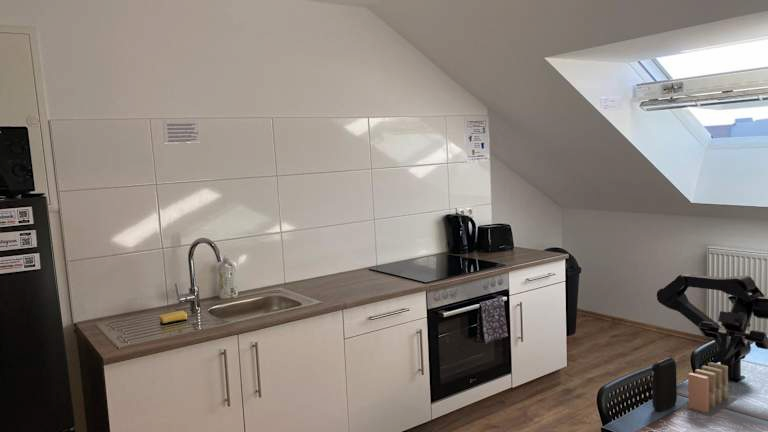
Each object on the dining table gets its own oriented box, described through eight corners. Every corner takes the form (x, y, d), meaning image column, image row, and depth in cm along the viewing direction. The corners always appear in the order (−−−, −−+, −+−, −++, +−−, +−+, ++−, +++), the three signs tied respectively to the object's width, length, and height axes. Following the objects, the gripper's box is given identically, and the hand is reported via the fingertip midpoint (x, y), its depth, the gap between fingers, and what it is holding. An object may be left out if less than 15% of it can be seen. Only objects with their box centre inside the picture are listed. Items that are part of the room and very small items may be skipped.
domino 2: (697, 401, 176) (697, 368, 175) (715, 406, 172) (715, 373, 171) (695, 403, 175) (694, 370, 174) (713, 408, 171) (712, 374, 170)
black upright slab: (657, 416, 169) (656, 366, 168) (647, 412, 172) (646, 363, 170) (679, 405, 175) (678, 357, 173) (669, 402, 177) (668, 354, 176)
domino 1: (691, 405, 174) (690, 372, 173) (709, 410, 170) (708, 376, 169) (688, 407, 173) (688, 374, 172) (706, 412, 169) (706, 378, 168)
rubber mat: (706, 391, 183) (706, 390, 183) (737, 400, 176) (737, 398, 176) (678, 408, 173) (678, 407, 173) (711, 418, 166) (711, 416, 166)
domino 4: (710, 393, 181) (710, 362, 180) (728, 398, 177) (727, 366, 176) (708, 395, 180) (707, 363, 179) (725, 400, 176) (725, 367, 175)
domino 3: (704, 397, 178) (703, 365, 177) (721, 402, 174) (721, 369, 173) (701, 399, 177) (701, 366, 176) (719, 404, 173) (719, 371, 172)
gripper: (701, 296, 189) (683, 337, 183) (766, 306, 174) (750, 351, 169) (712, 315, 194) (696, 356, 189) (777, 326, 180) (761, 371, 174)
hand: (724, 358), depth 180 cm, fingers closed
